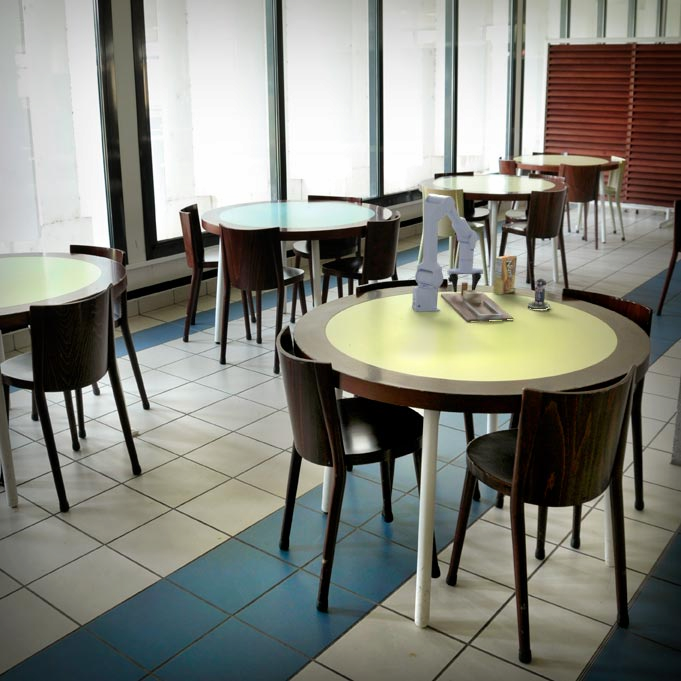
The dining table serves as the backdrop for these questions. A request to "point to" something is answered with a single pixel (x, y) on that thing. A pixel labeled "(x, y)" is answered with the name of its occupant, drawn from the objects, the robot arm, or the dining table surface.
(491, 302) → the thin wooden panel
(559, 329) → the dining table surface
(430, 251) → the robot arm
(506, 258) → the candy box
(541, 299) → the figurine
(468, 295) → the joystick
